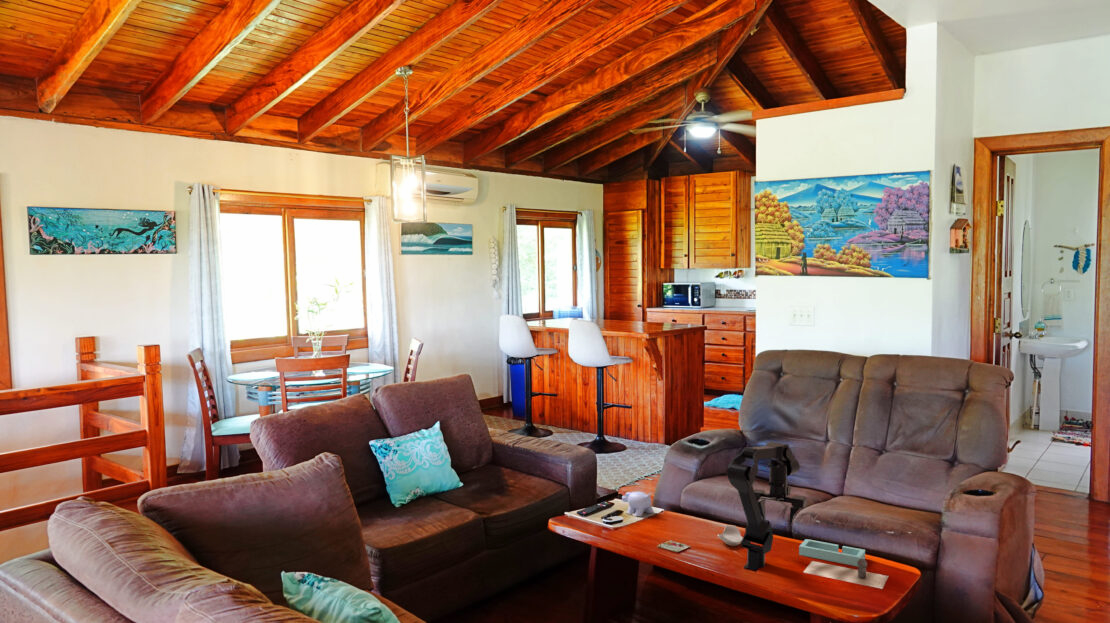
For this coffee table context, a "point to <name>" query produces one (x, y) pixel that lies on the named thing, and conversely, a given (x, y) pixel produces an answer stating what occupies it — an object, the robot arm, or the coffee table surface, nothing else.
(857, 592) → the coffee table surface
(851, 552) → the mint green notched block
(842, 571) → the post stand
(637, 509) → the grey bear figurine
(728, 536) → the pottery shard
